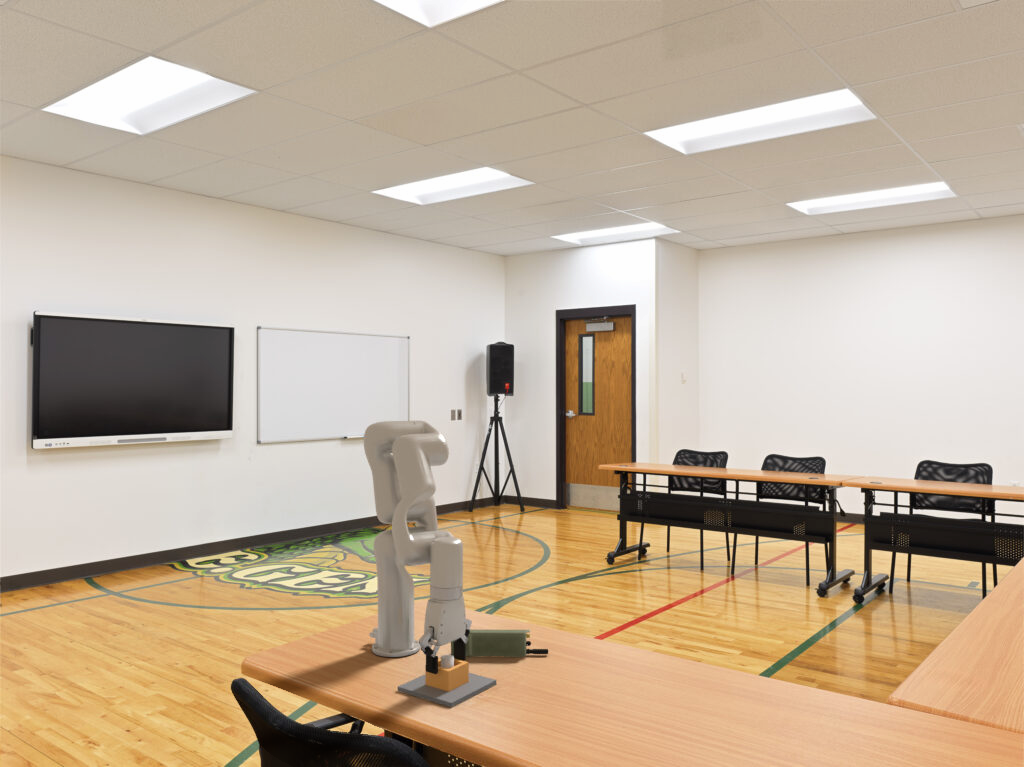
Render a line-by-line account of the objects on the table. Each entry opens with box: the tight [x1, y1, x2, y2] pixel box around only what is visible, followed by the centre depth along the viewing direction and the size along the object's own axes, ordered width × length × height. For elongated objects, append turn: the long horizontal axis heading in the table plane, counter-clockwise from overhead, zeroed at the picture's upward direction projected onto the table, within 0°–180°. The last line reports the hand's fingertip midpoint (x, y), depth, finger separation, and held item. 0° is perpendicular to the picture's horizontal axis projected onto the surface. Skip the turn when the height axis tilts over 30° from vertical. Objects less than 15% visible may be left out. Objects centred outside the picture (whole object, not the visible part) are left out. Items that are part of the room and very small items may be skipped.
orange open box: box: [424, 657, 470, 692], centre depth 178 cm, size 7×7×4 cm
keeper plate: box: [397, 654, 497, 709], centre depth 178 cm, size 16×16×7 cm
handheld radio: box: [450, 629, 549, 658], centre depth 199 cm, size 7×3×25 cm
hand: (445, 665), depth 178 cm, fingers open, 9 cm apart
